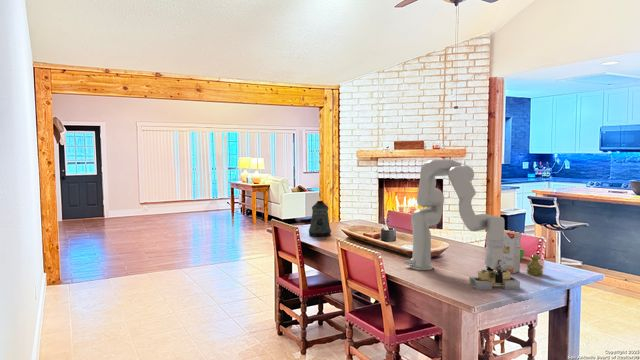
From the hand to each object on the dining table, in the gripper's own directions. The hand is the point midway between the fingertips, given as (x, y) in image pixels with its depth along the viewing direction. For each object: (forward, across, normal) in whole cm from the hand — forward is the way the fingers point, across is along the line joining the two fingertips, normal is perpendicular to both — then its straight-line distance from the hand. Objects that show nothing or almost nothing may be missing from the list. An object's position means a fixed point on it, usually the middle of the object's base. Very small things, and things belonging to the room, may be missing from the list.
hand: (494, 279), depth 213 cm
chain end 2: (+3, 0, +6) cm, 7 cm away
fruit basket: (+4, -50, +34) cm, 60 cm away
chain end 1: (+3, 0, -6) cm, 7 cm away
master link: (+2, 0, 0) cm, 2 cm away
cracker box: (+3, -27, +18) cm, 32 cm away
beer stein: (+3, -130, -74) cm, 150 cm away
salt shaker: (+4, -19, +30) cm, 35 cm away
